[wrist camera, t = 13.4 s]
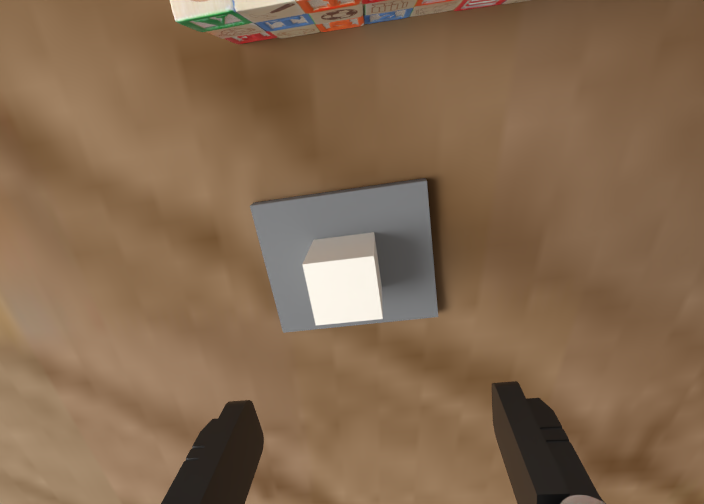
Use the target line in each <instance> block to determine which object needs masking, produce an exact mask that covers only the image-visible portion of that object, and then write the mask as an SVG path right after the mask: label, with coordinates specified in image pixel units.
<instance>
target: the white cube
mask: <svg viewBox="0 0 704 504" xmlns="http://www.w3.org/2000/svg"><path fill="white" fill-rule="evenodd" d="M302 265H303V270H304V274H305V279H306V283H307V288H308V293H309V297H310V302H311V306H312V311H313V315H314V320H315V325H327V324H337V323H347V322H357V321H367V320H377V319H383V310H382V285H381V278H380V271H379V264H378V256H377V249H376V242H375V235H374V232H372V233H364V234H356V235H348V236H340V237H332V238H324V239H316V240H313V242H312V244H311V246H310V249H309V251H308V253H307V255H306V257H305V260H304V262H303V264H302Z"/></svg>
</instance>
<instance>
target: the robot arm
mask: <svg viewBox="0 0 704 504" xmlns="http://www.w3.org/2000/svg"><path fill="white" fill-rule="evenodd" d="M492 410H493V425H494V431H495V435H496V439H497V442H498V445H499V448H500V451H501V454H502V457H503V461H504V464H505V467H506V470H507V473H508V476H509V479H510V482H511V485H512V488H513V491H514V494H515V497H516V500H517V503H518V504H606V503H605V502H604V501H603V500H602V499H601V497H600V496H599V494H598V493H597V491H596V489H595V487H594V485H593V483H592V481H591V480H590V478H589V476H588V474H587V472H586V470H585V468H584V467H583V465H582V463H581V461H580V459H579V457H578V455H577V454H576V452H575V450H574V448H573V446H572V444H571V443H570V442H569V439H568V437H567V435H566V433H565V431H564V429H562V426H561V424H560V422H559V420H558V418H557V416H556V415H555V413H554V411H553V410H552V409H551V408H550V407H549V406H547V405H546V404H545V403H544V402H543V401H542V400H541V399H540V398H531V399H526V398H525V396H524V394H523V391H522V389H521V387H520V385H519V383H518V382H517V381H515V382H502V383H492ZM263 444H264V437H263V432H262V429H261V426H260V423H259V420H258V417H257V414H256V411H255V408H254V405H253V403H252V402H251V401H250V400H245V401H232V402H228V403H227V404H226V405H225V407H224V409H223V411H222V413H221V414H220V416H219V418H218V419H212V420H211V421H210V422H209V423H208V424H207V425H206V426H205V428H204V429H203V430H202V431H201V432H200V433H199V435H198V437H197V439H196V441H195V442H194V444H193V446H192V447H193V448H192V449H191V450H190V452H189V454H188V455H187V457H186V461H184V463H183V465H182V466H181V468H180V470H179V472H178V474H177V476H176V477H175V479H174V481H173V483H172V485H171V487H170V488H169V490H168V492H167V494H166V496H165V498H164V499H163V501H162V503H161V504H245V501H246V498H247V495H248V492H249V489H250V486H251V483H252V481H253V478H254V475H255V472H256V469H257V466H258V463H259V460H260V457H261V454H262V451H263Z"/></svg>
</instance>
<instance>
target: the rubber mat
mask: <svg viewBox="0 0 704 504" xmlns="http://www.w3.org/2000/svg"><path fill="white" fill-rule="evenodd" d="M250 208H251V212H252V216H253V219H254V223H255V227H256V231H257V235H258V239H259V242H260V246H261V250H262V254H263V258H264V261H265V265H266V269H267V273H268V277H269V280H270V284H271V288H272V292H273V296H274V299H275V303H276V307H277V311H278V315H279V318H280V322H281V326H282V330H283V332H293V331H303V330H313V329H323V328H333V327H342V326H352V325H362V324H372V323H382V322H392V321H402V320H411V319H421V318H431V317H438V308H437V296H436V284H435V272H434V260H433V248H432V236H431V224H430V212H429V201H428V189H427V180H426V179H425V178H423V179H416V180H409V181H402V182H395V183H388V184H381V185H374V186H367V187H360V188H353V189H346V190H339V191H332V192H325V193H318V194H311V195H304V196H297V197H290V198H283V199H276V200H269V201H262V202H255V203H253V204H252V205H250ZM372 232H374V235H375V242H376V249H377V256H378V264H379V271H380V278H381V285H382V310H383V319H377V320H367V321H357V322H347V323H337V324H327V325H315V320H314V315H313V311H312V306H311V302H310V297H309V293H308V288H307V283H306V279H305V274H304V270H303V265H302V264H303V262H304V260H305V257H306V255H307V253H308V251H309V249H310V246H311V244H312V242H313V240H316V239H324V238H332V237H340V236H348V235H356V234H364V233H372Z"/></svg>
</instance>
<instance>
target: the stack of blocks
mask: <svg viewBox="0 0 704 504" xmlns="http://www.w3.org/2000/svg"><path fill="white" fill-rule="evenodd" d="M523 1H530V0H170V3H171V7H172V11H173V15H174V18H175V21H176V22H177V23H179V24H182V25H184V26H187V27H189V28H192V29H194V30H197V31H200V32H207V33H209V34H212V35H214V36H217V37H219V38H224V39H226V40H228V41H230V42H233V43H236V44H243V43H249V42H254V41H260V40H266V39H271V38H277V37H279V38H287V37H294V36H300V35H306V34H313V33H318V32H326V31H333V30H340V29H346V28H353V27H360V26H363V25H364V24H370V23H377V22H383V21H390V20H396V19H403V18H407V17H413V16H420V15H426V14H433V13H439V12H445V11H451V10H454V11H459V10H467V9H473V8H480V7H487V6H493V5H500V4H509V3H516V2H523Z"/></svg>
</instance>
